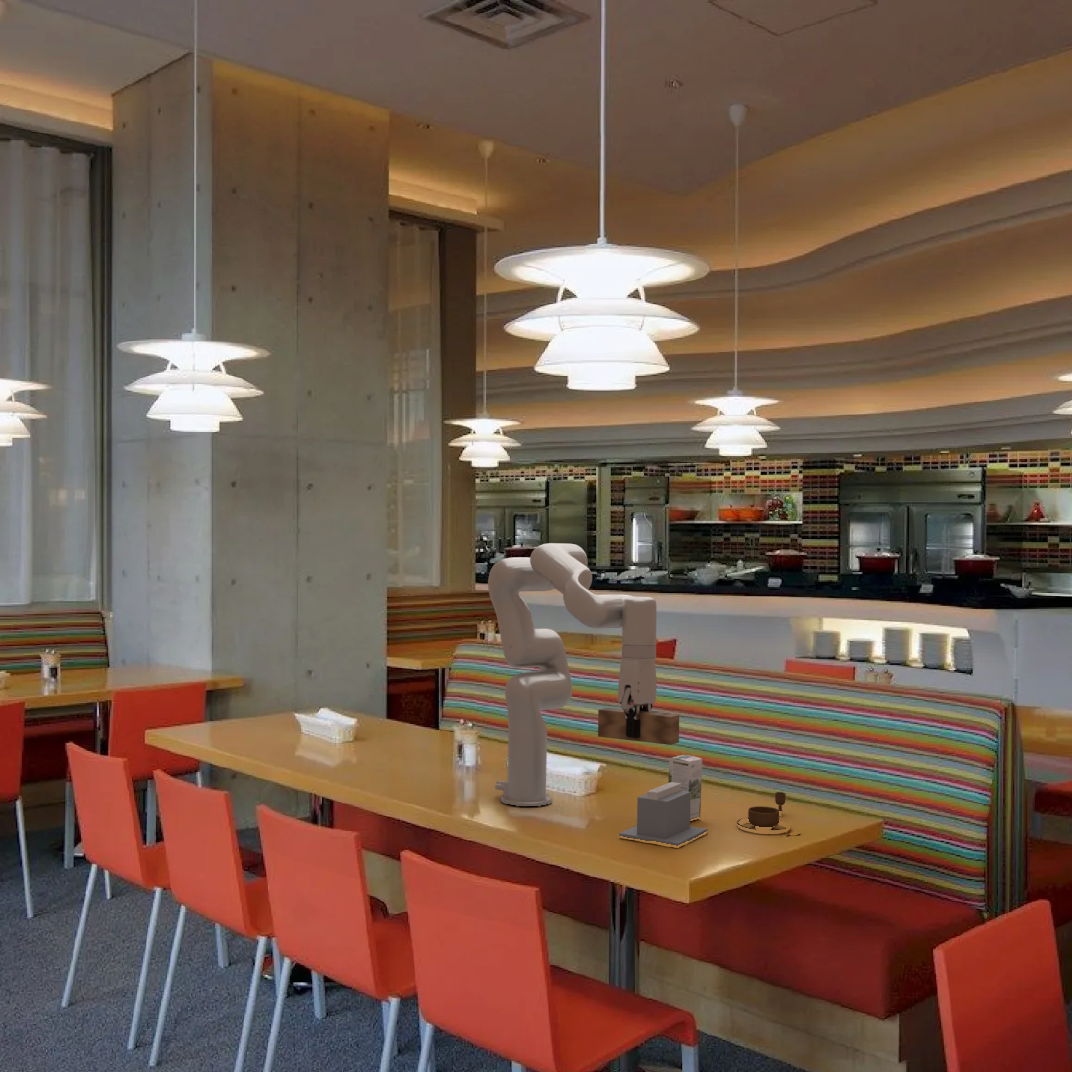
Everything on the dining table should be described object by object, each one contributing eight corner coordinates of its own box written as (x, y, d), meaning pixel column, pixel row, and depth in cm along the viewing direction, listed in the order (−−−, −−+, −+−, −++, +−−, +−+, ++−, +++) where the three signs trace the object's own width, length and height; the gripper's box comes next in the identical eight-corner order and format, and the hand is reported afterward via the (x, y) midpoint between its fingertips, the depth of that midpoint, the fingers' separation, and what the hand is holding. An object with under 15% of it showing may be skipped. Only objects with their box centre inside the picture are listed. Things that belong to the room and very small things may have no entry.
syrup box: (679, 815, 279) (681, 753, 279) (701, 819, 275) (702, 757, 275) (666, 819, 274) (667, 757, 274) (688, 824, 271) (689, 760, 270)
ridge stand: (619, 838, 256) (620, 788, 256) (650, 825, 269) (651, 777, 269) (677, 849, 249) (678, 797, 249) (707, 834, 261) (708, 785, 261)
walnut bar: (597, 736, 263) (598, 709, 263) (606, 734, 267) (607, 707, 267) (670, 744, 254) (671, 716, 254) (678, 742, 257) (679, 714, 257)
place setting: (716, 826, 272) (717, 800, 272) (778, 815, 283) (778, 790, 283) (772, 843, 257) (772, 815, 257) (834, 831, 269) (835, 805, 269)
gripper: (641, 649, 269) (640, 729, 269) (605, 654, 255) (604, 739, 255) (671, 651, 265) (670, 733, 265) (636, 656, 251) (635, 742, 251)
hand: (638, 735), depth 260 cm, fingers closed on walnut bar, 4 cm apart
